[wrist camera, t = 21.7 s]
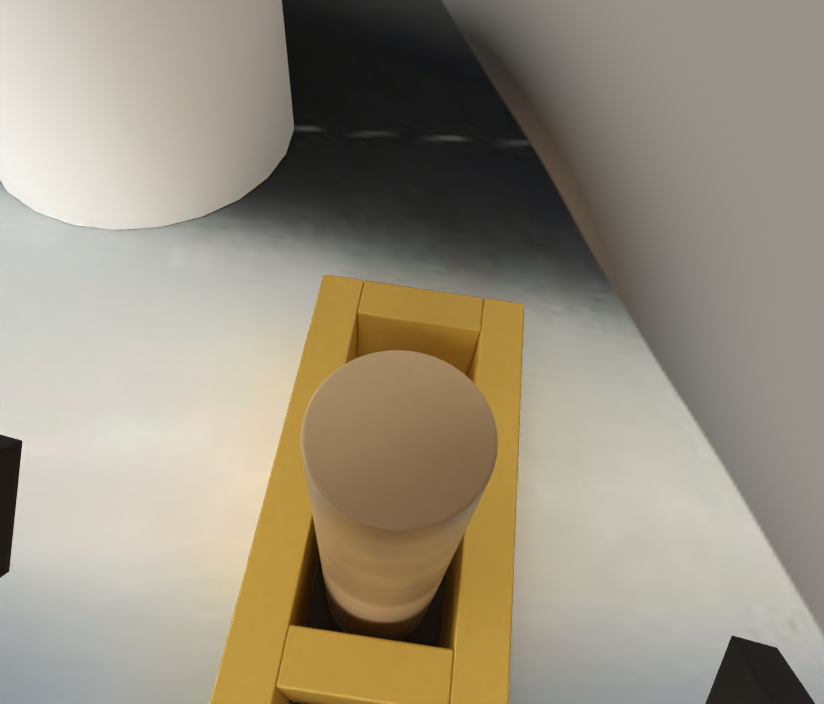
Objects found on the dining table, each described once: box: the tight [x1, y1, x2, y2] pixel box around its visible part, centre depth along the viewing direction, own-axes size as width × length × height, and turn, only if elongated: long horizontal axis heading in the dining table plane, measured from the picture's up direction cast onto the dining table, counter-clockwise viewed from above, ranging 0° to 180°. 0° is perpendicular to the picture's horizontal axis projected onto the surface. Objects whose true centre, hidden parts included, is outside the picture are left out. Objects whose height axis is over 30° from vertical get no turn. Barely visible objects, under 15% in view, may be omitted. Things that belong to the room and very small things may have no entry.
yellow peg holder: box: [210, 275, 524, 704], centre depth 23 cm, size 8×22×5 cm, turn 173°
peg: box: [301, 350, 498, 641], centre depth 19 cm, size 4×4×14 cm
